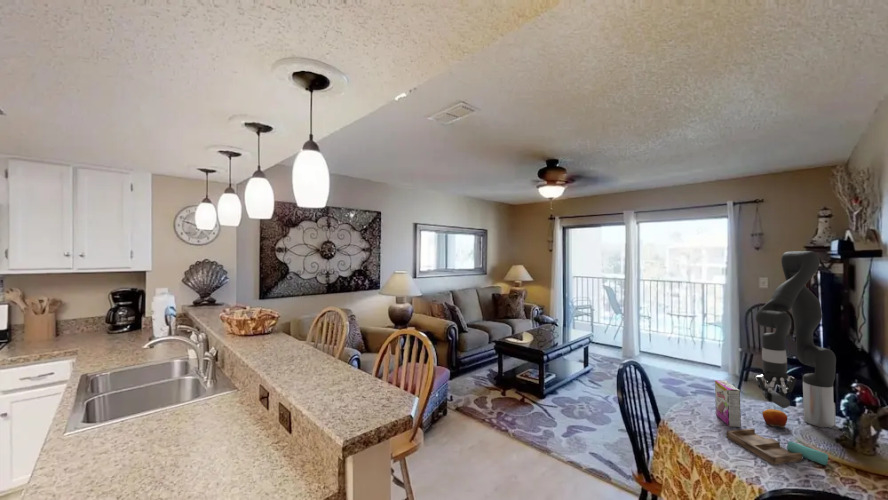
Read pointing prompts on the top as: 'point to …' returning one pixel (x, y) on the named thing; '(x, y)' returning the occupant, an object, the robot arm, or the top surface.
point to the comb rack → (763, 446)
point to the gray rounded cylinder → (779, 399)
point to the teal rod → (808, 453)
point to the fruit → (775, 418)
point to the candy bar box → (728, 403)
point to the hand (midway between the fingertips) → (775, 401)
